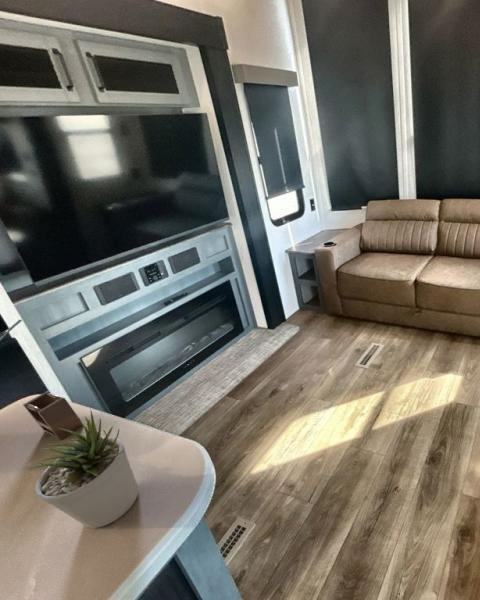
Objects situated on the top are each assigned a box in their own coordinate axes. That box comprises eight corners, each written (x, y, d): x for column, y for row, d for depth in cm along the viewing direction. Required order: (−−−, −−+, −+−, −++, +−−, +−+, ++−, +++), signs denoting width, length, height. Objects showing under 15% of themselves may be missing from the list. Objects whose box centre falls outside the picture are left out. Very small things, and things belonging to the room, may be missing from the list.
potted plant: (113, 547, 62) (46, 470, 52) (54, 533, 65) (-18, 459, 56) (169, 481, 72) (122, 407, 63) (116, 471, 76) (64, 400, 66)
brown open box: (44, 431, 89) (22, 404, 85) (67, 417, 93) (47, 390, 89) (61, 440, 86) (39, 412, 82) (84, 425, 90) (64, 397, 86)
